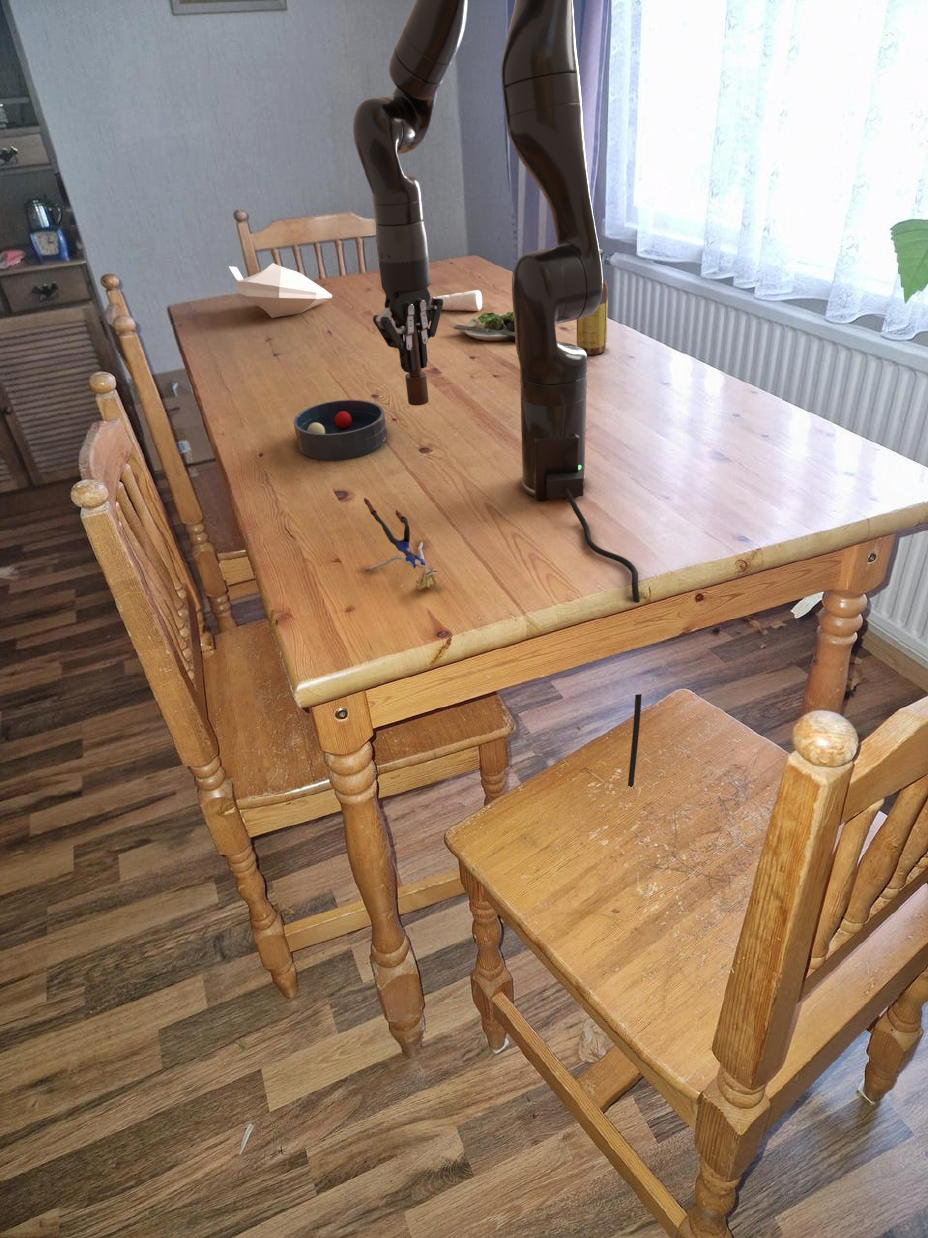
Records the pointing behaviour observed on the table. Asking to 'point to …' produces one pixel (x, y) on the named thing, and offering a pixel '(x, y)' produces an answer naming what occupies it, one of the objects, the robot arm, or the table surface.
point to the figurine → (405, 550)
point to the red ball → (343, 420)
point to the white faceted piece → (280, 290)
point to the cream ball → (316, 428)
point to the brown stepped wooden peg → (416, 377)
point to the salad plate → (490, 327)
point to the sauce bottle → (594, 326)
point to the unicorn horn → (462, 301)
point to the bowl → (341, 430)
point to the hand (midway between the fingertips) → (415, 368)
